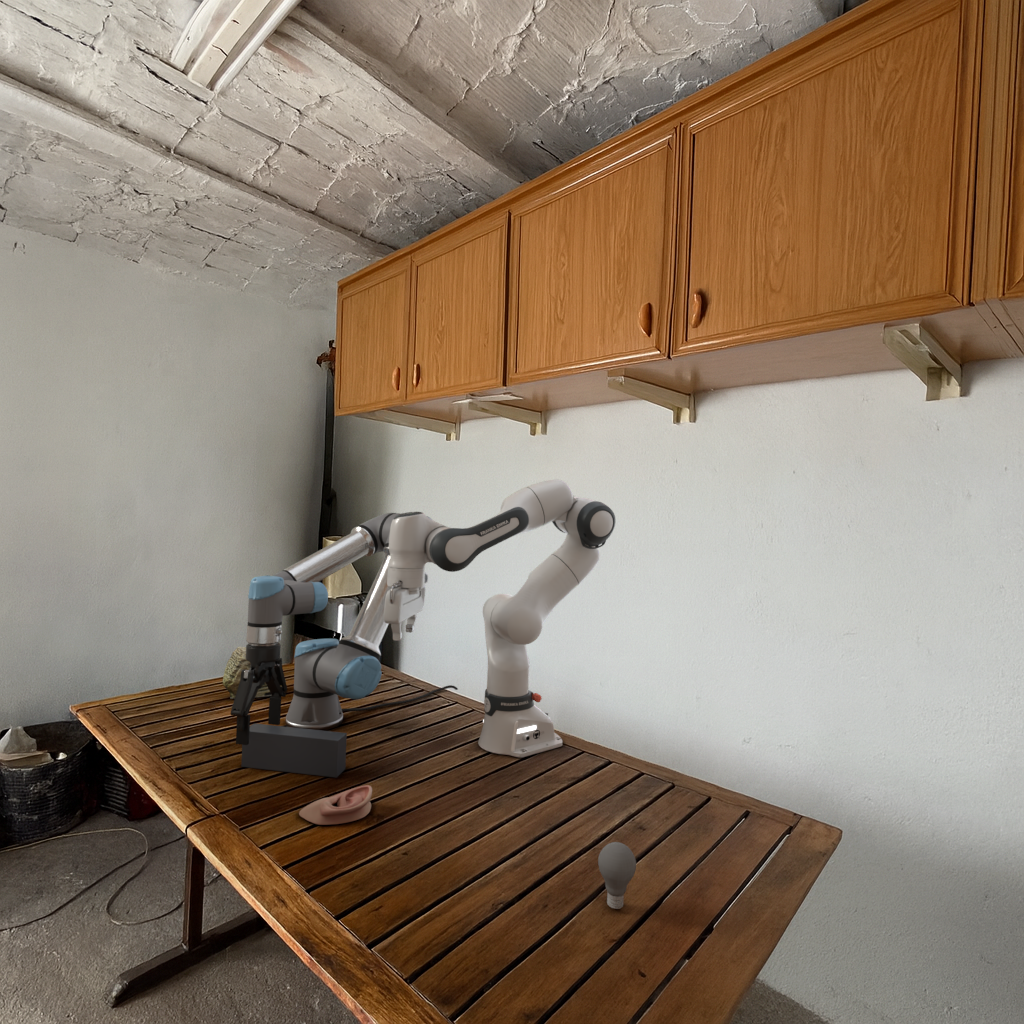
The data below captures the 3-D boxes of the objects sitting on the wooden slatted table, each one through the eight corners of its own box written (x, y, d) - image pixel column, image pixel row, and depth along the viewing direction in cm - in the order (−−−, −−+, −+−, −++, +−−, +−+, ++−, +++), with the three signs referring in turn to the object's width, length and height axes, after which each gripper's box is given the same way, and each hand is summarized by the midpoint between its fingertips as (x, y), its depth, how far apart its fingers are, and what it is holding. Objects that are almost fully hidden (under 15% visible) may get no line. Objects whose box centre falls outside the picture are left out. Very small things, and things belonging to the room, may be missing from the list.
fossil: (218, 695, 195) (220, 647, 195) (278, 685, 208) (279, 640, 207) (228, 703, 189) (230, 653, 188) (289, 692, 201) (290, 645, 201)
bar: (241, 766, 146) (242, 730, 146) (253, 758, 151) (254, 723, 151) (336, 777, 143) (338, 740, 143) (345, 768, 148) (346, 732, 148)
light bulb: (592, 894, 104) (595, 834, 104) (628, 894, 104) (631, 834, 104) (600, 919, 98) (603, 855, 98) (638, 918, 99) (641, 855, 98)
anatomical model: (291, 800, 123) (320, 775, 134) (290, 820, 123) (320, 794, 134) (354, 810, 120) (379, 784, 132) (353, 830, 121) (378, 803, 132)
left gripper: (248, 656, 135) (243, 755, 135) (304, 634, 160) (299, 718, 160) (216, 653, 136) (211, 751, 136) (276, 631, 161) (271, 715, 161)
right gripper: (404, 585, 142) (402, 646, 142) (430, 574, 162) (428, 628, 162) (378, 583, 143) (375, 644, 143) (406, 573, 163) (404, 626, 163)
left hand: (258, 733), depth 148 cm, fingers open, 13 cm apart
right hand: (403, 635), depth 153 cm, fingers open, 8 cm apart
